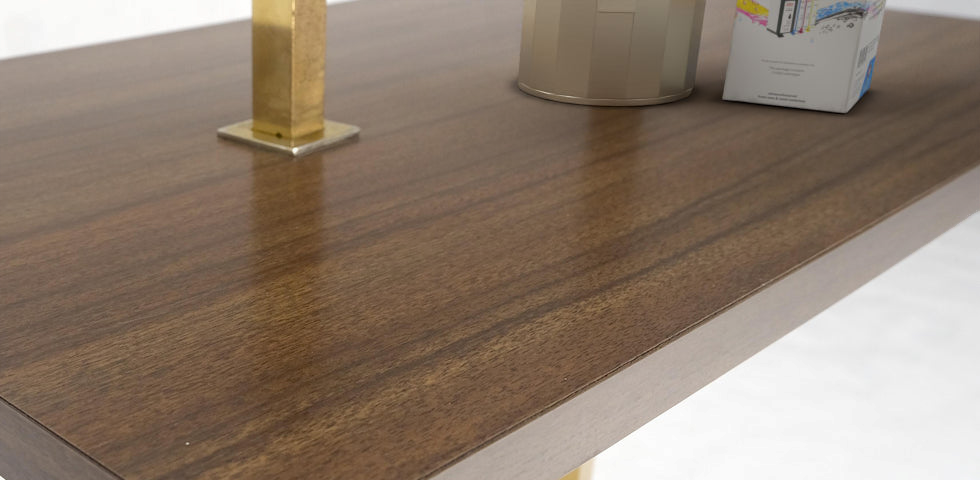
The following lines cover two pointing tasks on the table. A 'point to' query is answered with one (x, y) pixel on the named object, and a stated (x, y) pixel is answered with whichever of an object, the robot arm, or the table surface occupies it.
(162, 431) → the table surface
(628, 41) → the pot
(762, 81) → the ink box
